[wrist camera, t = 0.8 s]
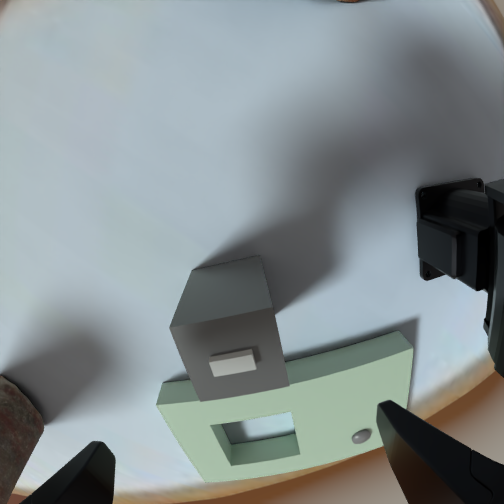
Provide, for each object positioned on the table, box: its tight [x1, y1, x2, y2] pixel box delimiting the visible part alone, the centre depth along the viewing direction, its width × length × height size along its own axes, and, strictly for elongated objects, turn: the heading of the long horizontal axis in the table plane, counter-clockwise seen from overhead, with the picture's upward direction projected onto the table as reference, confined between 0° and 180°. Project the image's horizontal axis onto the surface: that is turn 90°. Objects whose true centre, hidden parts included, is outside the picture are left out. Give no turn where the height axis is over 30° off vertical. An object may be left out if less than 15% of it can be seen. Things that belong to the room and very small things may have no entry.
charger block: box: [169, 255, 290, 402], centre depth 15 cm, size 4×4×7 cm
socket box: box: [156, 331, 413, 483], centre depth 21 cm, size 18×11×3 cm, turn 102°
